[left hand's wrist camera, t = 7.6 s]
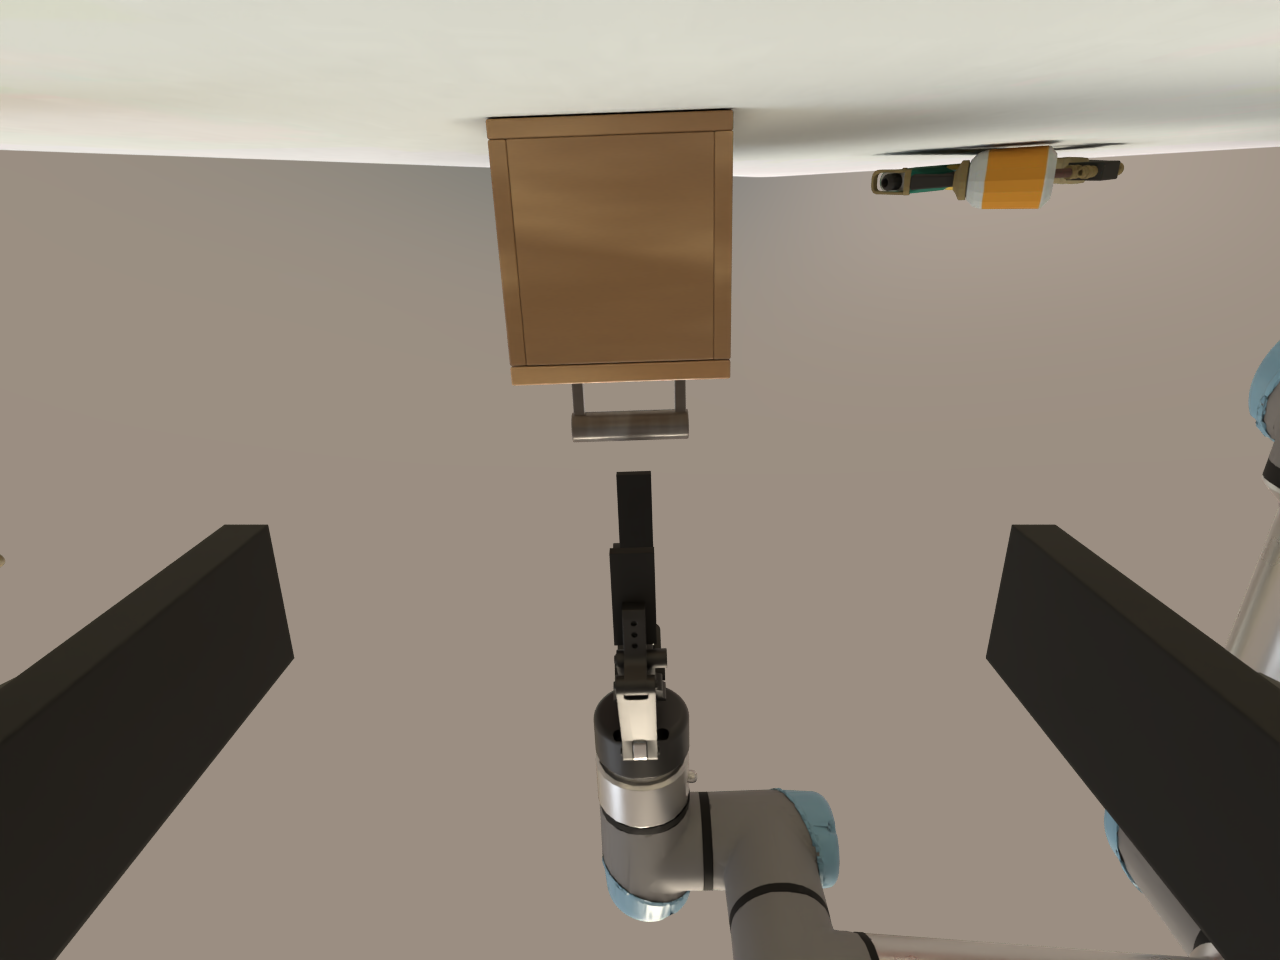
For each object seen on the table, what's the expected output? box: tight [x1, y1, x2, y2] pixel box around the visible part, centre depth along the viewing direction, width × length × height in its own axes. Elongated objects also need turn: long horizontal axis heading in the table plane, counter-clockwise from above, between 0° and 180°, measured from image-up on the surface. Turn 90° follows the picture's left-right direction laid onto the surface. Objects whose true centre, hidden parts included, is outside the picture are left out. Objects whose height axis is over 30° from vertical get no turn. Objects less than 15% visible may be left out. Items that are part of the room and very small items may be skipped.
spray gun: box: [871, 146, 1124, 209], centre depth 58 cm, size 4×17×15 cm
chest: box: [486, 110, 733, 366], centre depth 37 cm, size 16×10×10 cm, turn 0°
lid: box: [510, 358, 730, 442], centre depth 41 cm, size 17×10×8 cm, turn 0°
